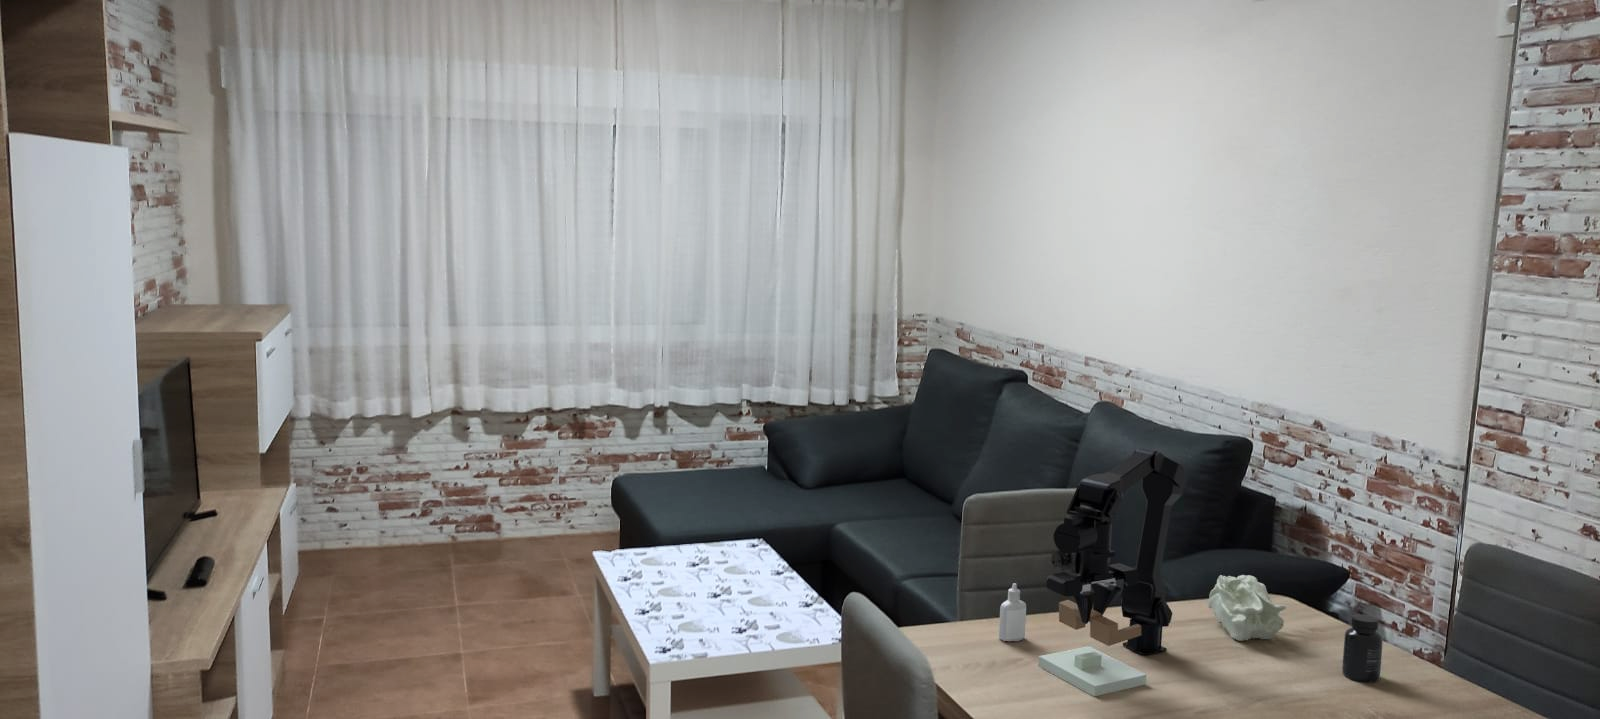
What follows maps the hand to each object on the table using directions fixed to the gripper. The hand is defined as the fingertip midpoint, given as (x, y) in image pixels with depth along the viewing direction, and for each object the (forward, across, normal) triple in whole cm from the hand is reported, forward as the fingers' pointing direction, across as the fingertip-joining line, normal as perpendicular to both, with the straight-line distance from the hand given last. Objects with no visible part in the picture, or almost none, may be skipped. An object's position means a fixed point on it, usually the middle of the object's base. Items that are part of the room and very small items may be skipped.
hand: (1090, 622), depth 224 cm
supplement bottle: (+11, -50, +23) cm, 56 cm away
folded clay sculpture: (+11, -48, -4) cm, 49 cm away
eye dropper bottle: (+11, +1, -22) cm, 25 cm away
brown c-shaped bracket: (+2, -3, -1) cm, 4 cm away
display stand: (+11, 0, 0) cm, 11 cm away
